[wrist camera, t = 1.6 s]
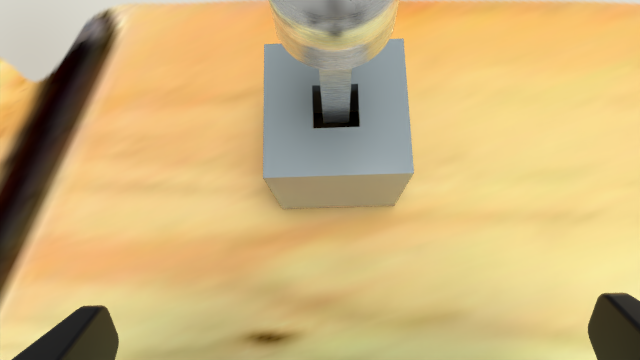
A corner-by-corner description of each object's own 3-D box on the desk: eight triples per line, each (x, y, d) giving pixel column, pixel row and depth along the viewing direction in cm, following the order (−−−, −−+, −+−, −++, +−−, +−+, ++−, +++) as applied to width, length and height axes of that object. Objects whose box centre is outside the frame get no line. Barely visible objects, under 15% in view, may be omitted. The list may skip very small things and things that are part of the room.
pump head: (378, 147, 18) (414, 10, 9) (296, 150, 18) (258, 17, 9) (371, 27, 19) (397, -188, 11) (294, 30, 19) (261, -180, 11)
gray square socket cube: (394, 205, 23) (413, 172, 17) (282, 208, 23) (263, 177, 17) (387, 101, 24) (403, 38, 18) (282, 105, 24) (264, 44, 19)
